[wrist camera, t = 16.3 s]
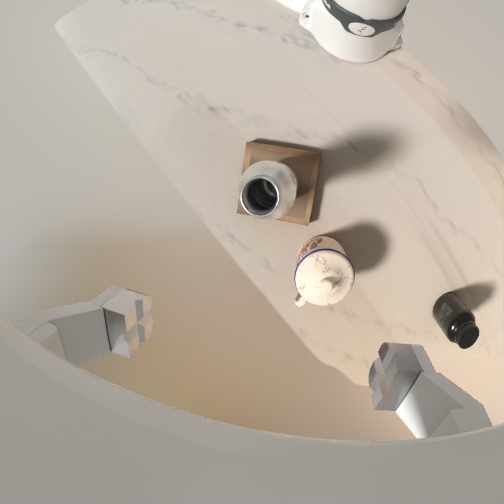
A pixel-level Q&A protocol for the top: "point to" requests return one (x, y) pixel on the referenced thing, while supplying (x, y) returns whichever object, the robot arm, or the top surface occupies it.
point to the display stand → (304, 169)
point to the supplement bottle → (456, 320)
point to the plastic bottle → (268, 189)
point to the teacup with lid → (322, 272)
